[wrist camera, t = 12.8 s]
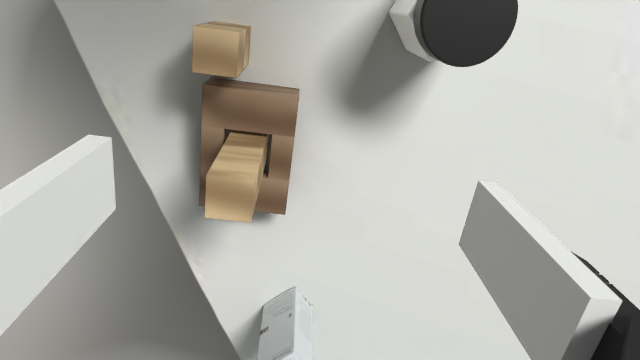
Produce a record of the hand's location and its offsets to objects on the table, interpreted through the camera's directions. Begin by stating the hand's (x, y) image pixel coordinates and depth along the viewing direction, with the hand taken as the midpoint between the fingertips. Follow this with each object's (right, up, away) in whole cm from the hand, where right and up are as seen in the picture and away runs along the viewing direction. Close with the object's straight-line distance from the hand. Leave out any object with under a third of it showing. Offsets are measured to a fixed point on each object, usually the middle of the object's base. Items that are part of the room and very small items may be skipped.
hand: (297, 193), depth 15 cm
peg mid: (-9, +15, +31) cm, 36 cm away
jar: (+13, +19, +30) cm, 38 cm away
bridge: (-7, +5, +35) cm, 36 cm away
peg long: (-7, +5, +35) cm, 36 cm away
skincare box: (-4, -17, +45) cm, 49 cm away
